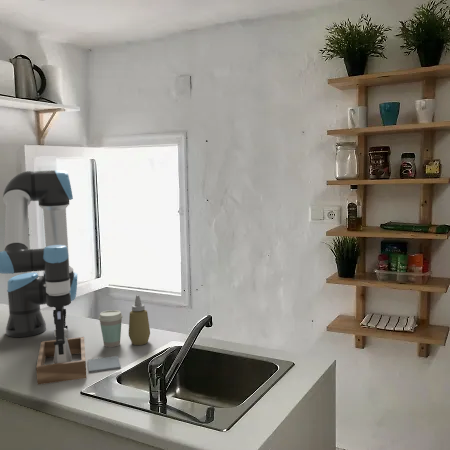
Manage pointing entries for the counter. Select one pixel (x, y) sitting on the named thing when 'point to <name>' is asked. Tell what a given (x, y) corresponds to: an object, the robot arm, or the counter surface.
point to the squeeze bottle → (138, 323)
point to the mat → (103, 364)
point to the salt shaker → (68, 354)
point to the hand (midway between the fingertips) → (62, 355)
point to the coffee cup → (111, 327)
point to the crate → (61, 370)
